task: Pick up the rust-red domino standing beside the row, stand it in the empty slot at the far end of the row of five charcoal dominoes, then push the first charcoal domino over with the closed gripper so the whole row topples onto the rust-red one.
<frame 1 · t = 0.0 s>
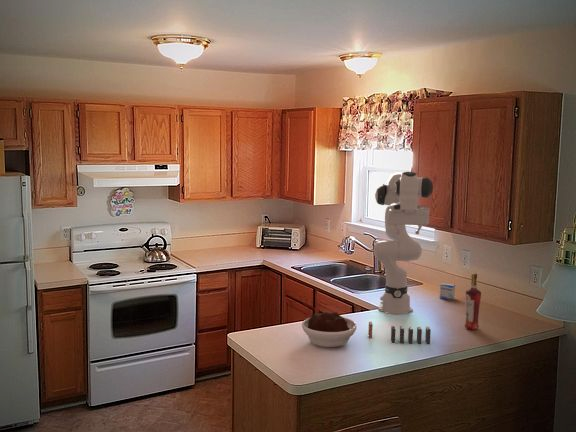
hand: (407, 233, 288), 48 cm above the worktop, tool pointing down, fingers open, 8 cm apart
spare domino: (370, 337, 282), on the worktop
domino 4: (401, 342, 275), on the worktop
medicine box: (446, 298, 350), on the worktop
domino 3: (410, 342, 275), on the worktop
domino 5: (393, 341, 275), on the worktop
liquor: (471, 328, 296), on the worktop
domino 1: (427, 342, 275), on the worktop
bowl of chocolate: (328, 344, 273), on the worktop
domino 2: (418, 342, 275), on the worktop
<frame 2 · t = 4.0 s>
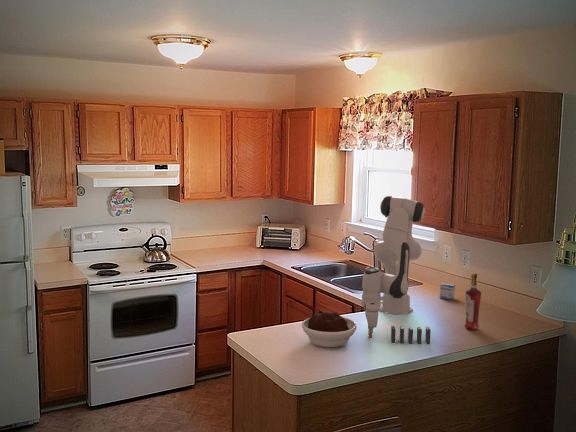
hand: (370, 330, 281), 3 cm above the worktop, tool pointing down, fingers closed on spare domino, 4 cm apart
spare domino: (370, 337, 282), on the worktop, touching gripper
everything else where it was.
when the fingers open (3 cm above the worktop, at t = 9.1 s): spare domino stays where it is, on the worktop.
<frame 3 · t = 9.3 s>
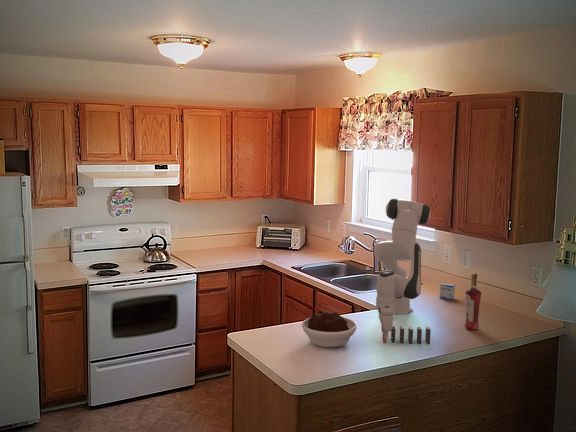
hand: (384, 334, 275), 3 cm above the worktop, tool pointing down, fingers open, 6 cm apart
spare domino: (384, 341, 276), on the worktop
everything else where it was.
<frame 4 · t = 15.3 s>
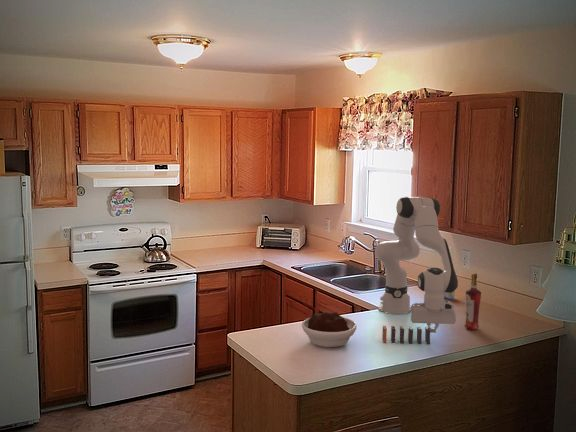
hand: (432, 332, 274), 5 cm above the worktop, tool pointing down, fingers closed
domino 1: (427, 342, 275), on the worktop, touching gripper
everything else where it was.
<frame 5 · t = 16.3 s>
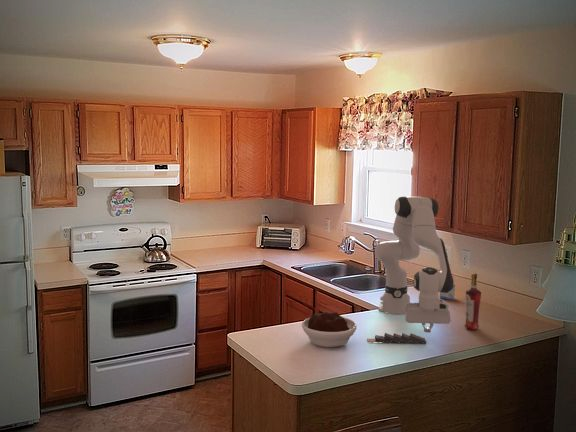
hand: (427, 332, 274), 5 cm above the worktop, tool pointing down, fingers closed
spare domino: (382, 341, 276), on the worktop, tilted 90°, touching domino 5
domino 4: (399, 340, 275), point 1 cm above the worktop, tilted 70°, touching domino 3, domino 5
domino 3: (408, 341, 275), point 1 cm above the worktop, tilted 70°, touching domino 2, domino 4
domino 5: (390, 340, 275), point 1 cm above the worktop, tilted 80°, touching domino 4, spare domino
domino 1: (425, 341, 275), point 1 cm above the worktop, tilted 70°, touching domino 2
domino 2: (416, 341, 275), point 1 cm above the worktop, tilted 70°, touching domino 1, domino 3
everything else where it was.
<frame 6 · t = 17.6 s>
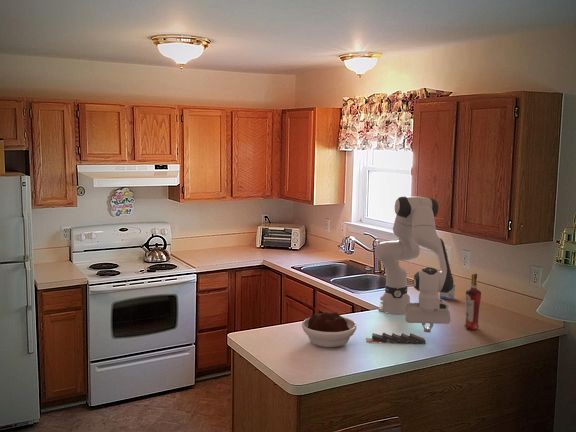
hand: (427, 332, 274), 5 cm above the worktop, tool pointing down, fingers closed
domino 4: (396, 340, 275), point 1 cm above the worktop, tilted 71°
domino 3: (406, 340, 275), point 1 cm above the worktop, tilted 71°, touching domino 2
domino 5: (387, 339, 276), point 1 cm above the worktop, tilted 77°, touching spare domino
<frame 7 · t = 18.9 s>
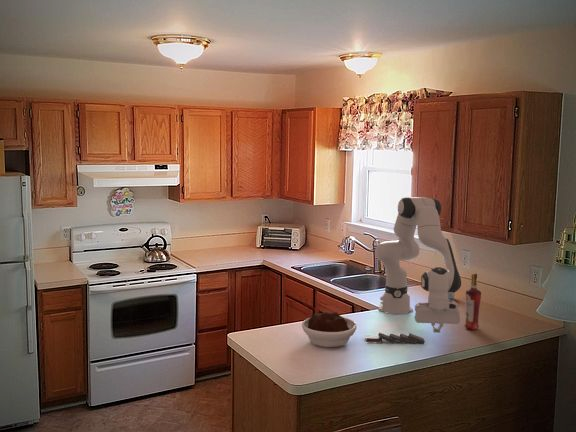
hand: (436, 332, 274), 5 cm above the worktop, tool pointing down, fingers closed
domino 4: (393, 340, 275), point 1 cm above the worktop, tilted 68°, touching domino 3, domino 5
domino 3: (405, 340, 275), point 1 cm above the worktop, tilted 73°, touching domino 2, domino 4
domino 5: (381, 338, 276), point 1 cm above the worktop, tilted 89°, touching domino 4, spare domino
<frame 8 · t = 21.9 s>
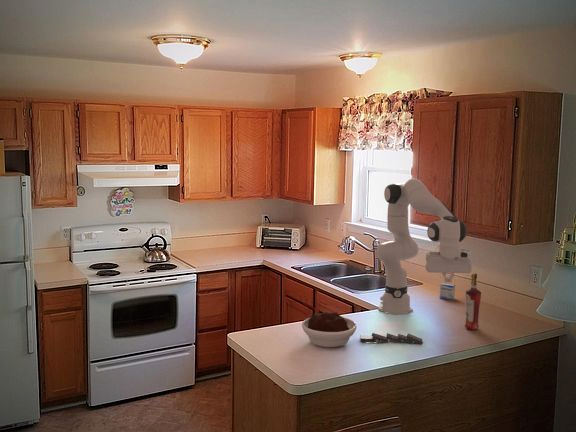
hand: (447, 282, 270), 29 cm above the worktop, tool pointing down, fingers closed
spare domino: (379, 341, 276), on the worktop, tilted 90°
domino 4: (386, 339, 276), point 1 cm above the worktop, tilted 71°
domino 3: (401, 340, 276), point 1 cm above the worktop, tilted 76°, touching domino 2
domino 5: (375, 338, 276), point 1 cm above the worktop, tilted 90°
domino 1: (421, 341, 274), point 1 cm above the worktop, tilted 71°, touching domino 2
domino 2: (412, 341, 275), point 1 cm above the worktop, tilted 75°, touching domino 1, domino 3
everything else where it was.
at the end: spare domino tilted 90°; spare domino inside the target area (1.1 cm from its centre), on the worktop; domino 3 tilted 76° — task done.
